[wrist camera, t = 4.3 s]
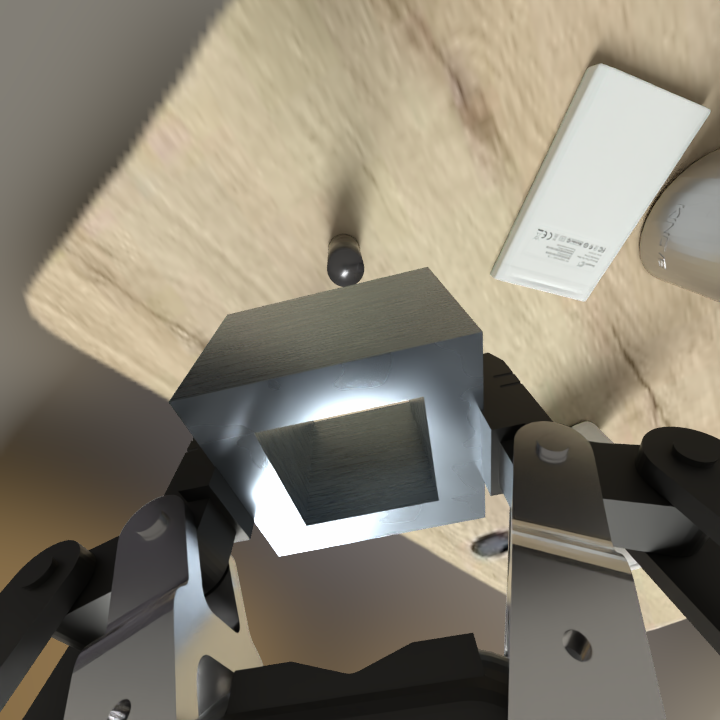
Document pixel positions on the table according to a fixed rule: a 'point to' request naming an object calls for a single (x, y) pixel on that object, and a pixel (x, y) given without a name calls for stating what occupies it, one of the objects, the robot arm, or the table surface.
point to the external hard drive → (596, 181)
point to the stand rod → (344, 261)
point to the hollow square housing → (339, 396)
